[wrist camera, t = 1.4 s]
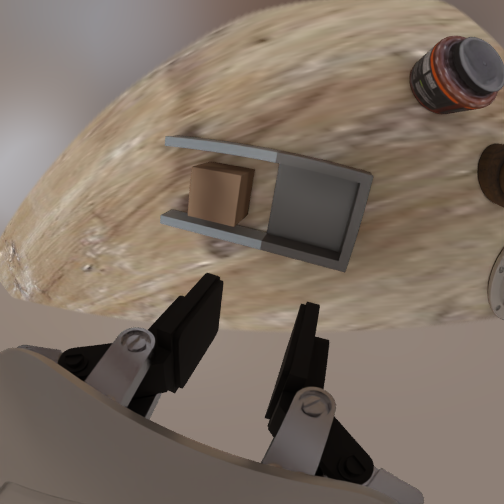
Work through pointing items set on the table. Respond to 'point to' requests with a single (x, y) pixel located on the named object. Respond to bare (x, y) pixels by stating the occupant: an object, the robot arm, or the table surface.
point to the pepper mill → (492, 173)
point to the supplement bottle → (458, 75)
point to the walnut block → (220, 192)
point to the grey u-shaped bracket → (292, 206)
